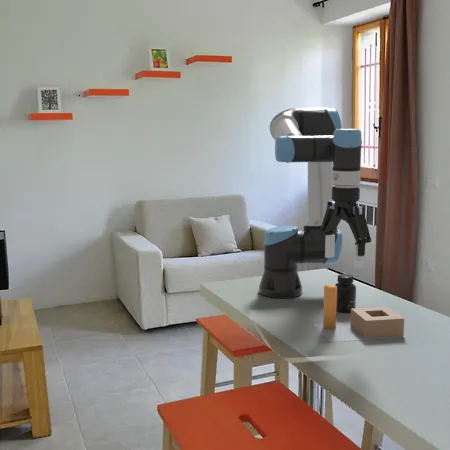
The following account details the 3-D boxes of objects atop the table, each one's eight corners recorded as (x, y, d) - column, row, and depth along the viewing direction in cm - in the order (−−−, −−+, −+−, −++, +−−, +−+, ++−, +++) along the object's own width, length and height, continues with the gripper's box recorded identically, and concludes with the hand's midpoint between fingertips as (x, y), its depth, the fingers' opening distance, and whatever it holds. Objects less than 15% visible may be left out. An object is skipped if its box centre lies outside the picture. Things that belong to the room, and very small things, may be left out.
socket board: (312, 327, 172) (312, 307, 171) (383, 323, 176) (384, 303, 175) (329, 345, 158) (329, 324, 157) (406, 340, 161) (407, 319, 160)
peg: (321, 325, 171) (322, 285, 169) (333, 324, 171) (334, 284, 169) (325, 329, 167) (326, 288, 165) (337, 328, 168) (338, 287, 166)
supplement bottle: (355, 316, 182) (356, 278, 180) (333, 315, 183) (334, 277, 181) (355, 310, 188) (356, 273, 186) (333, 308, 190) (334, 272, 188)
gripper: (309, 182, 171) (308, 254, 174) (362, 191, 148) (360, 273, 152) (331, 181, 174) (329, 252, 177) (386, 190, 151) (383, 270, 155)
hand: (343, 262), depth 164 cm, fingers open, 13 cm apart
